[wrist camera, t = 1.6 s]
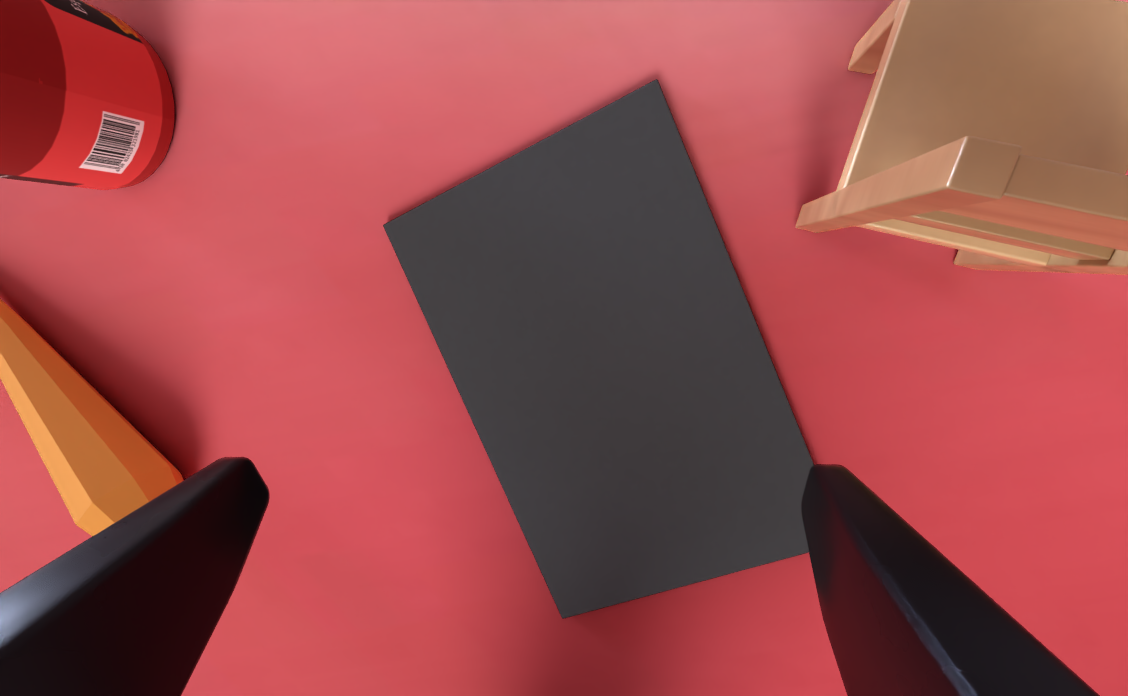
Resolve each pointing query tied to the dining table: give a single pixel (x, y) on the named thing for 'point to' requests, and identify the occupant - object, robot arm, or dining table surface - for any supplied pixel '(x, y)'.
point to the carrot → (78, 432)
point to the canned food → (79, 97)
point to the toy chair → (993, 134)
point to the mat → (611, 360)
